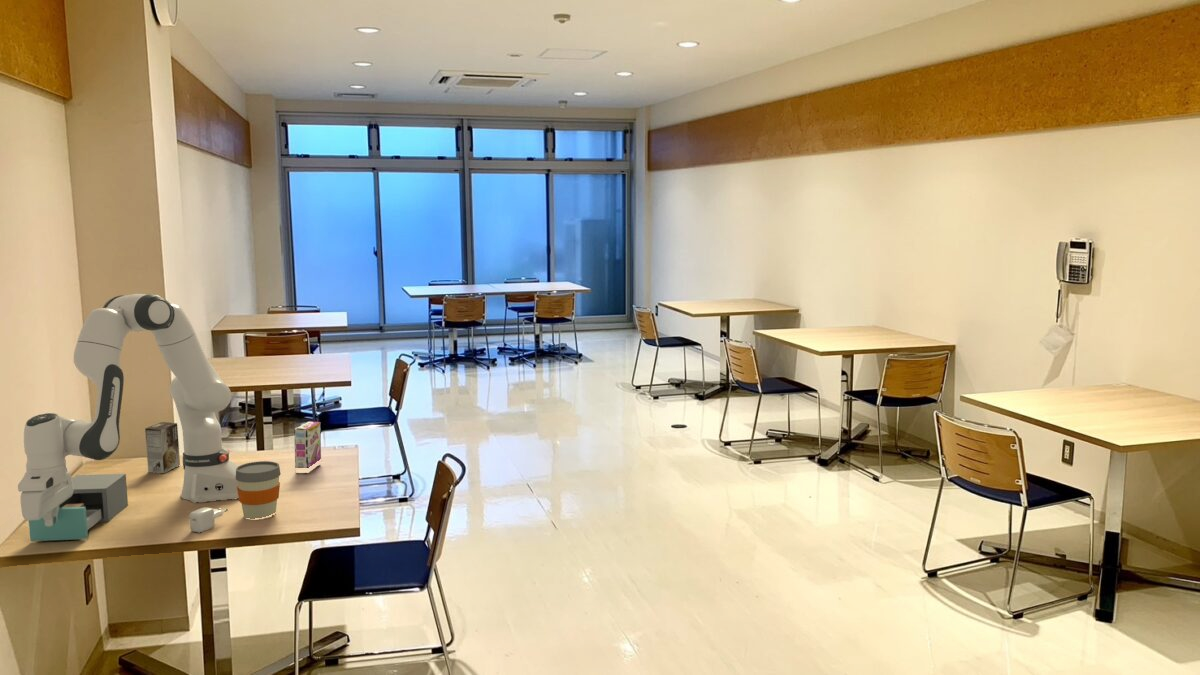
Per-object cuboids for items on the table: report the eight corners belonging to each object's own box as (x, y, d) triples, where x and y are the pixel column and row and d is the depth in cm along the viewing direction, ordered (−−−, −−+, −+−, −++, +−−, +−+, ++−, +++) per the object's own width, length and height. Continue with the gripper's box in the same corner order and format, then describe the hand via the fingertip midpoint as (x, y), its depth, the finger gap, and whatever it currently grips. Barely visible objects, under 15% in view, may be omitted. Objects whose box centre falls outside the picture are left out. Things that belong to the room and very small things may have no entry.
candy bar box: (308, 474, 287) (306, 429, 285) (294, 474, 287) (293, 428, 285) (322, 465, 298) (321, 421, 296) (309, 464, 298) (307, 420, 296)
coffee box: (164, 465, 295) (161, 421, 292) (180, 466, 294) (178, 422, 291) (147, 472, 286) (144, 428, 283) (164, 474, 285) (161, 429, 283)
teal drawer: (107, 520, 240) (105, 491, 238) (86, 538, 226) (83, 508, 225) (55, 522, 237) (53, 493, 236) (30, 541, 224) (27, 510, 223)
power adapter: (218, 518, 244) (217, 499, 243) (231, 521, 243) (230, 502, 242) (188, 531, 234) (186, 512, 233) (201, 534, 232) (200, 514, 231)
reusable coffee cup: (232, 513, 249) (230, 465, 247) (275, 504, 257) (273, 458, 254) (243, 525, 239) (241, 476, 237) (287, 516, 247) (285, 468, 245)
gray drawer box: (128, 505, 254) (125, 473, 252) (108, 521, 240) (106, 488, 239) (78, 507, 252) (76, 475, 250) (56, 523, 238) (53, 490, 237)
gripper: (53, 463, 228) (57, 511, 230) (13, 487, 208) (18, 539, 210) (77, 462, 229) (81, 510, 231) (41, 486, 209) (45, 538, 211)
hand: (51, 524), depth 221 cm, fingers closed
